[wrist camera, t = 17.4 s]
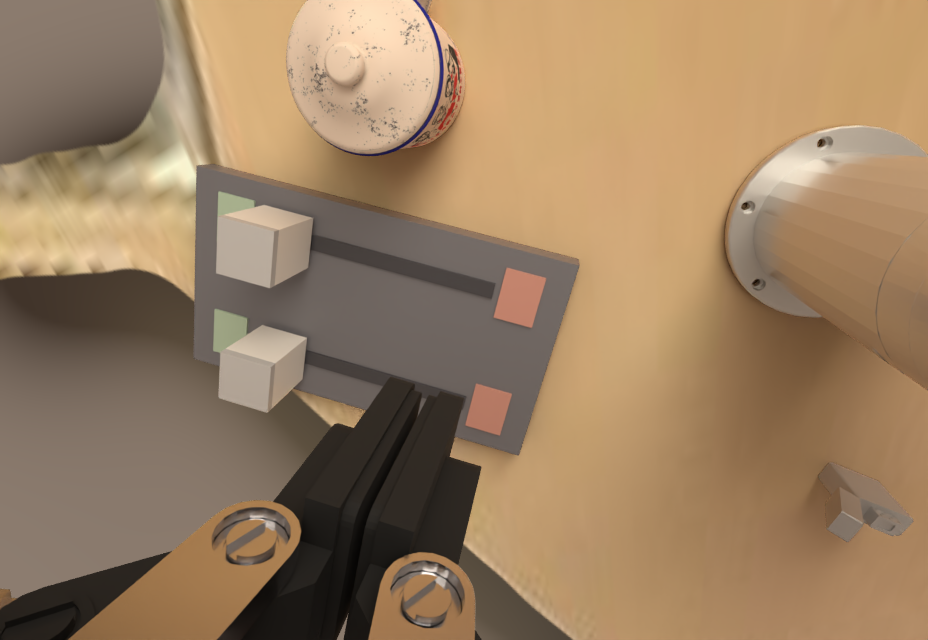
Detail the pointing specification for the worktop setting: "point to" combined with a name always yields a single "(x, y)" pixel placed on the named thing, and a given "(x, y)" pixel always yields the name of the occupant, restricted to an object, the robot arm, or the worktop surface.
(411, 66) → the teacup with lid
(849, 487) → the lighter
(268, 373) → the beige slider knob
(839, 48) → the worktop surface
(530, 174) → the worktop surface
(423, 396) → the panel
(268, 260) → the on switch
